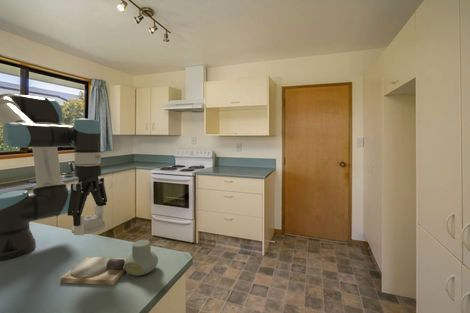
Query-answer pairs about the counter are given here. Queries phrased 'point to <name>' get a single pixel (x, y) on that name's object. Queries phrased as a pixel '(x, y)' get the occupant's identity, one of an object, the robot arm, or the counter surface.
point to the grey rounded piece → (141, 259)
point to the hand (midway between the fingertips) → (89, 228)
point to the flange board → (95, 271)
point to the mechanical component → (92, 224)
